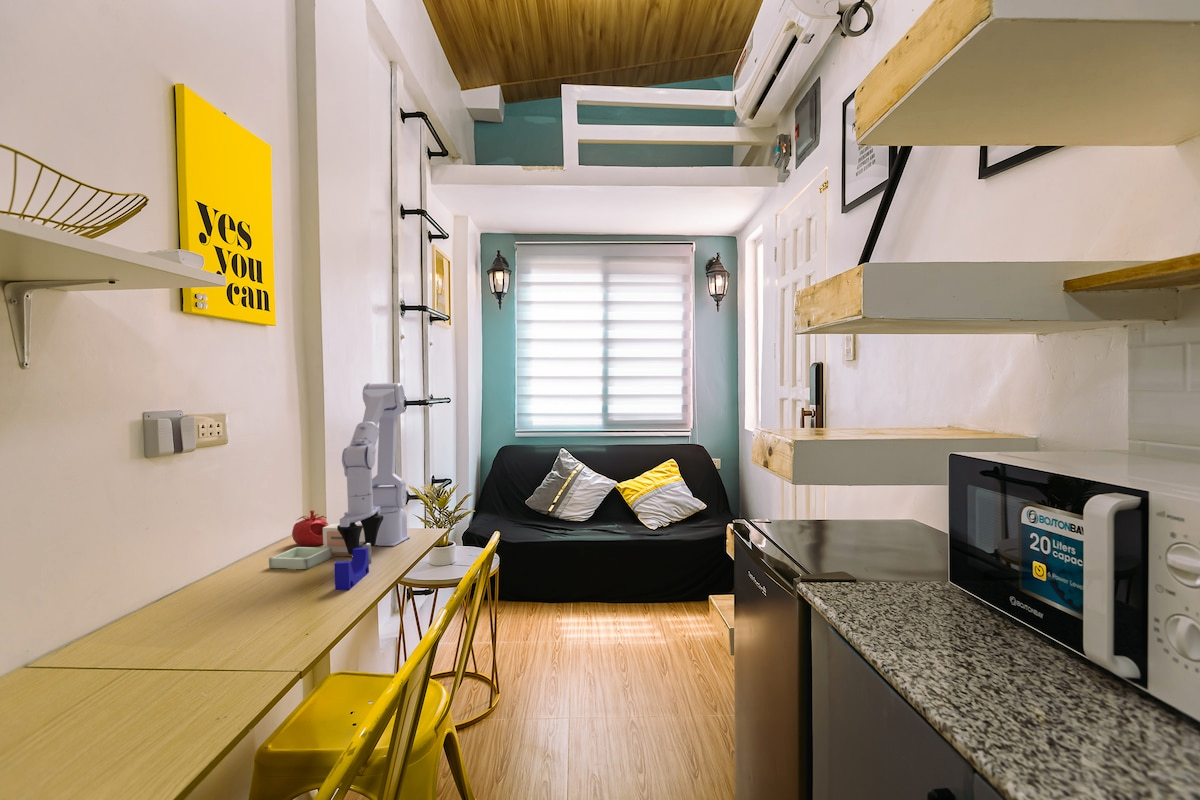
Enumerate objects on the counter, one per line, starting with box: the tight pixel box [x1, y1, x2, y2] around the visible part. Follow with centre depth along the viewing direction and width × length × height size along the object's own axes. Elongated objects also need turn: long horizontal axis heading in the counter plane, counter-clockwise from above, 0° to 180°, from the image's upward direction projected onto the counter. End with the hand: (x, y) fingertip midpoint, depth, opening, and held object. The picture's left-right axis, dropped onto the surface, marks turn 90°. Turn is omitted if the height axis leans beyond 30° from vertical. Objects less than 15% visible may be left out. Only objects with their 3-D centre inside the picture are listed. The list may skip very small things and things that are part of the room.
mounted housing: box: [322, 523, 373, 557], centre depth 159 cm, size 6×12×7 cm, turn 80°
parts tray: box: [268, 546, 333, 570], centre depth 151 cm, size 10×10×2 cm
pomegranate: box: [291, 510, 329, 547], centre depth 169 cm, size 10×10×9 cm
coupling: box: [359, 541, 373, 565], centre depth 149 cm, size 4×4×5 cm
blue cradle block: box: [333, 548, 370, 591], centre depth 136 cm, size 12×4×6 cm, turn 2°
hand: (362, 549), depth 149 cm, fingers open, 7 cm apart
